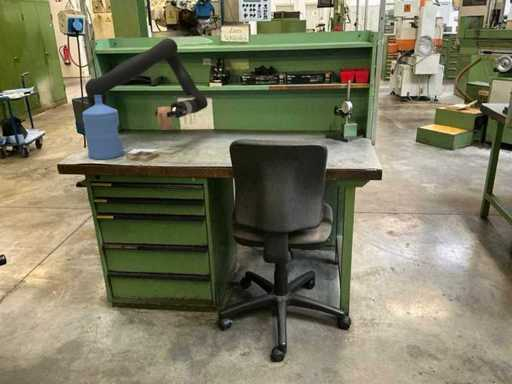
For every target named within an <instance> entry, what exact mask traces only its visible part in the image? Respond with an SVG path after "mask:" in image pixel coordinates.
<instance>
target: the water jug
mask: <svg viewBox="0 0 512 384" xmlns="http://www.w3.org/2000/svg"><path fill="white" fill-rule="evenodd" d="M101 96H102V95H94V97H95V105H94V106H92V107H90V108H89V107H88V108H87V109H86V110H83V112H82V114H81V115H82V122H83V127H84V132H85V141H86V145H87V151H88V152H87V153H88V155H87V156H88V157H89V158H90V159H93V160H110V159H116V158H119V157H120V156H122V155H124V148H123V142H122V139H121V137H119V131H118V130H119V129H118V126H119V125H120V120H119V119H120V117H119V111H118V110H117V109H116V108H113V107H110V106H106V105H104V104H103V103H102V98H101Z"/></svg>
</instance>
